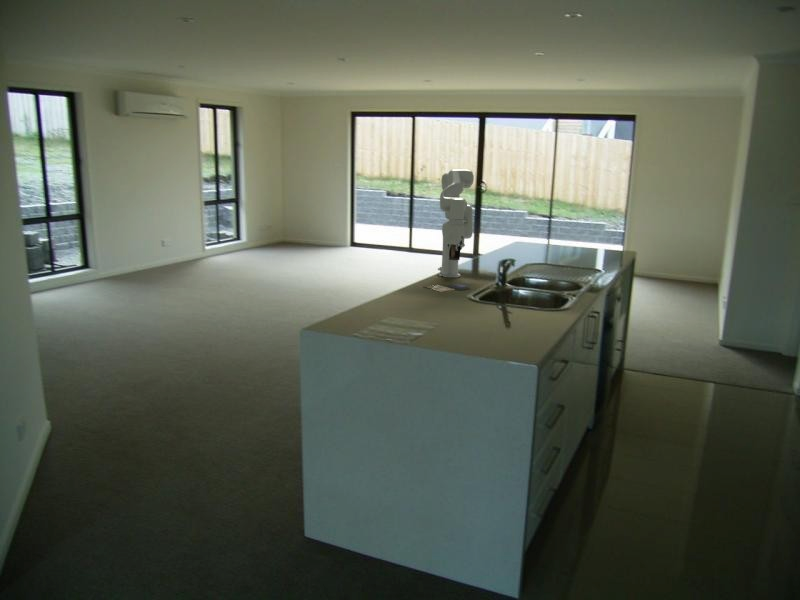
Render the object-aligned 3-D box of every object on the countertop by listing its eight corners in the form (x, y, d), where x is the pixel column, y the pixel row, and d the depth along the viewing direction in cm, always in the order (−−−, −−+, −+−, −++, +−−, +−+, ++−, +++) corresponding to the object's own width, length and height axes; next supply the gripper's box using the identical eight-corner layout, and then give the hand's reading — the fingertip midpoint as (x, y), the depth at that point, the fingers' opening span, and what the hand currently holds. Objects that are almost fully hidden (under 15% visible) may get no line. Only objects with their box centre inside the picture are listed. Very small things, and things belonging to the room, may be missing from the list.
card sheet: (422, 287, 333) (422, 286, 333) (436, 285, 339) (436, 284, 339) (441, 291, 323) (441, 291, 323) (455, 289, 329) (455, 289, 329)
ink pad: (448, 287, 335) (448, 284, 334) (457, 286, 339) (457, 283, 339) (460, 290, 328) (460, 287, 328) (469, 289, 333) (470, 286, 332)
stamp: (448, 259, 334) (449, 243, 332) (454, 259, 336) (455, 243, 334) (453, 260, 331) (454, 244, 329) (459, 260, 333) (460, 244, 331)
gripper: (440, 221, 334) (438, 256, 337) (461, 224, 321) (459, 260, 324) (450, 221, 338) (449, 255, 342) (472, 223, 325) (470, 259, 329)
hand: (454, 257), depth 333 cm, fingers closed on stamp, 3 cm apart
